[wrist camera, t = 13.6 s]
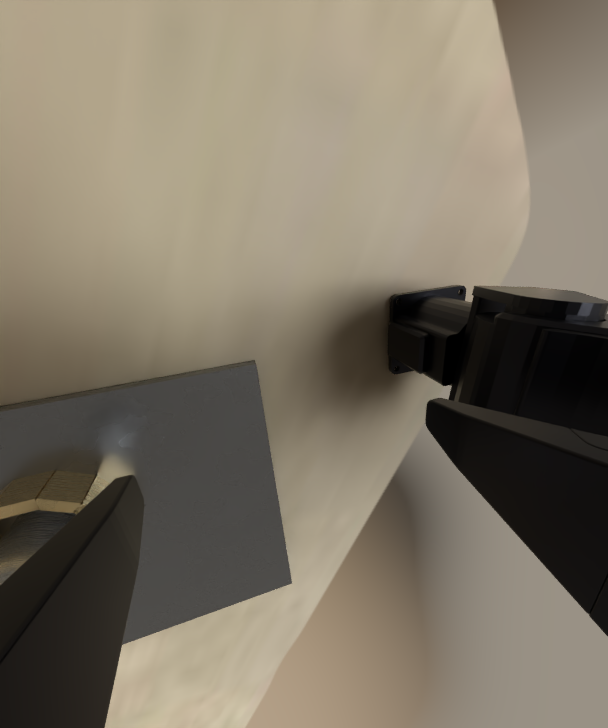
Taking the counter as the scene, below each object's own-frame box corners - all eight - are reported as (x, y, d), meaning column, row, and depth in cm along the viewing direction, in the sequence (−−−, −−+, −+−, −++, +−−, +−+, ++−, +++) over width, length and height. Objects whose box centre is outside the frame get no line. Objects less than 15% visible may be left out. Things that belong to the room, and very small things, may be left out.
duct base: (254, 360, 21) (261, 378, 18) (290, 575, 31) (298, 610, 28) (-80, 421, 17) (-142, 457, 14) (79, 650, 26) (62, 701, 23)
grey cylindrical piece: (106, 490, 21) (-29, 796, 9) (105, 545, 22) (-11, 868, 11) (13, 493, 19) (-300, 875, 7) (19, 553, 21) (-232, 947, 9)
